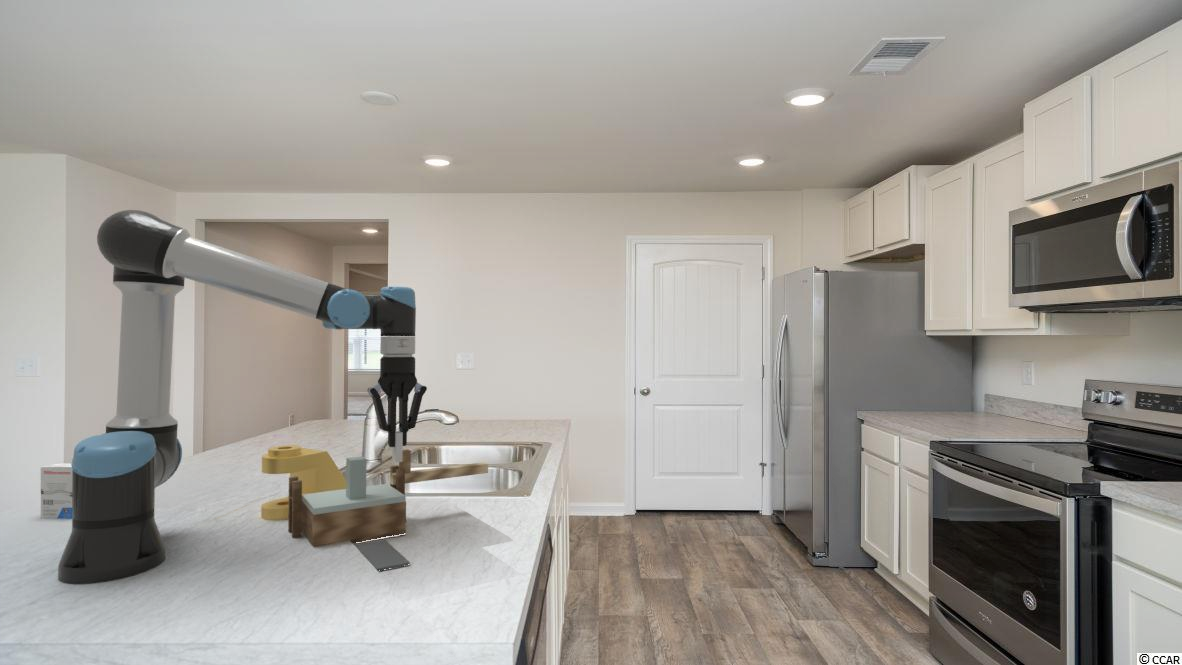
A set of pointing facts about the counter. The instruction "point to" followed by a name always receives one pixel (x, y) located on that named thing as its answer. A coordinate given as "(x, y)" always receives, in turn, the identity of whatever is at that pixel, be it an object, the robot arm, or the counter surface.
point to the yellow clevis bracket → (300, 475)
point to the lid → (353, 492)
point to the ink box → (56, 491)
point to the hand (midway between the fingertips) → (397, 460)
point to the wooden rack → (346, 518)
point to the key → (436, 471)
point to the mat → (382, 555)
